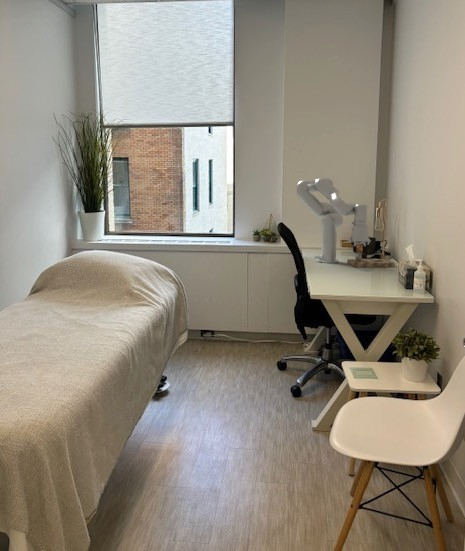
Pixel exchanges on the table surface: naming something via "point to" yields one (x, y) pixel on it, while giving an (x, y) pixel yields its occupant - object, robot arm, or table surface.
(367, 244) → the coffee mug
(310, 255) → the table surface
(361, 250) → the awl
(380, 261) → the board
